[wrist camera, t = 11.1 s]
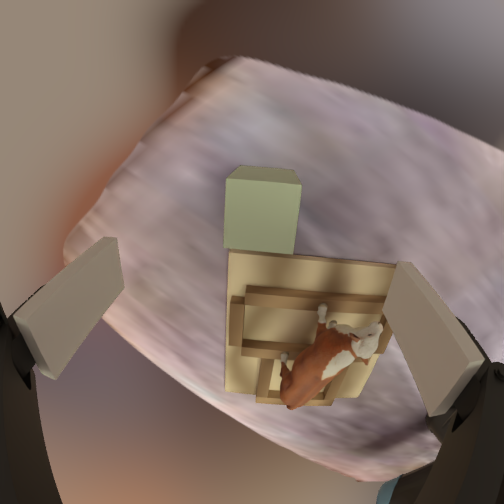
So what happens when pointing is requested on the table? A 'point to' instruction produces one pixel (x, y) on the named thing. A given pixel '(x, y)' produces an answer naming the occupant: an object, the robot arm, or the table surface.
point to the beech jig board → (297, 317)
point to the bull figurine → (325, 358)
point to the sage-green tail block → (261, 209)
